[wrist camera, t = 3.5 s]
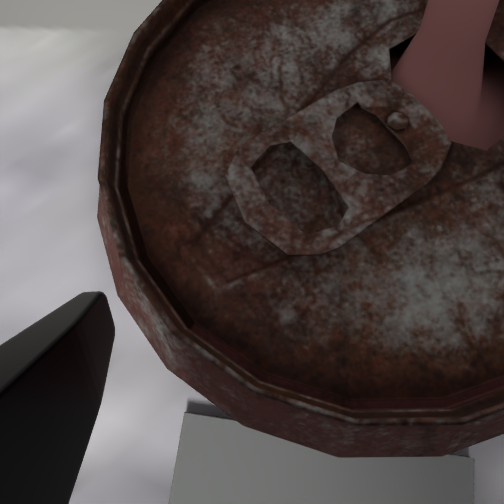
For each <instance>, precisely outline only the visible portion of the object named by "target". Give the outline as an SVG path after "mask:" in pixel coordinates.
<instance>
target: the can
mask: <svg viewBox="0 0 504 504" xmlns="http://www.w3.org/2000/svg"><path fill="white" fill-rule="evenodd" d="M98 181H99V184H100V189H99V202H98V214H97V218H98V222H99V226H100V230H101V233H102V237H103V241H104V245H105V249H106V252H107V256H108V260H109V264H110V268H111V271H112V275H113V279H114V283H115V287H116V290H117V294H118V297H119V298H120V300H121V301H122V303H123V304H124V305H125V307H126V308H127V310H128V311H129V313H130V314H131V316H132V317H133V319H134V320H135V322H136V323H137V325H138V326H139V328H140V329H141V331H142V332H143V334H144V335H145V337H146V338H147V340H148V341H149V343H150V344H151V345H152V347H153V348H154V350H155V351H156V353H157V354H158V356H159V357H160V359H161V360H162V362H163V363H164V365H165V366H166V368H167V369H168V370H170V371H171V372H172V373H174V374H175V375H176V376H178V377H179V378H180V379H182V380H183V381H184V382H186V383H187V384H188V385H190V386H191V387H192V388H194V389H195V390H196V391H197V392H199V393H200V394H201V395H203V396H204V397H205V398H207V399H208V400H209V401H211V402H212V403H213V404H215V405H216V406H217V407H219V408H220V409H221V410H223V411H224V412H225V413H227V414H228V415H229V416H231V417H232V418H233V419H235V420H236V421H237V422H239V423H240V424H241V425H243V426H245V427H248V428H251V429H254V430H257V431H260V432H263V433H266V434H269V435H272V436H275V437H278V438H281V439H284V440H287V441H290V442H293V443H296V444H299V445H302V446H305V447H308V448H311V449H314V450H317V451H320V452H323V453H326V454H329V455H332V456H335V457H338V458H358V457H442V456H445V455H447V454H450V453H453V452H456V451H458V450H461V449H464V448H466V447H469V446H472V445H474V444H477V443H480V442H483V441H485V440H488V439H491V438H493V437H496V436H499V435H501V434H504V0H162V1H161V2H160V4H159V5H158V6H157V7H156V8H155V9H154V10H153V12H152V13H151V14H150V15H149V16H148V17H147V18H146V20H145V21H144V22H143V23H142V24H141V25H140V26H139V27H138V29H137V30H136V31H135V32H134V34H133V36H132V38H131V41H130V43H129V45H128V47H127V50H126V52H125V54H124V57H123V59H122V61H121V63H120V66H119V68H118V70H117V72H116V75H115V77H114V79H113V82H112V84H111V86H110V88H109V91H108V93H107V95H106V98H105V100H104V108H103V120H102V133H101V145H100V157H99V170H98Z"/></svg>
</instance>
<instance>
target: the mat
mask: <svg viewBox="0 0 504 504" xmlns="http://www.w3.org/2000/svg"><path fill="white" fill-rule="evenodd" d="M169 504H474V458H471V457H466V456H459V455H453V454H447V455H445V456H442V457H358V458H338V457H335V456H332V455H329V454H326V453H323V452H320V451H317V450H314V449H311V448H308V447H305V446H302V445H299V444H296V443H293V442H290V441H287V440H284V439H281V438H278V437H275V436H272V435H269V434H266V433H263V432H260V431H257V430H254V429H251V428H248V427H245V426H243V425H241V424H240V423H239V422H237V421H236V420H232V419H226V418H220V417H214V416H207V415H201V414H195V413H188V412H185V413H184V418H183V423H182V429H181V435H180V441H179V446H178V452H177V458H176V464H175V469H174V475H173V481H172V487H171V493H170V498H169Z"/></svg>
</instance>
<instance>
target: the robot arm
mask: <svg viewBox="0 0 504 504" xmlns="http://www.w3.org/2000/svg"><path fill="white" fill-rule="evenodd" d="M114 337H115V326H114V322H113V318H112V315H111V311H110V307H109V304H108V300H107V297H106V295H105V294H104V293H103V292H101V291H97V292H84V293H81V294H79V295H78V296H76V297H75V298H73V299H71V300H70V301H68V302H67V303H65V304H64V305H62V306H61V307H59V308H57V309H56V310H54V311H53V312H51V313H50V314H48V315H47V316H45V317H44V318H42V319H40V320H39V321H37V322H36V323H34V324H33V325H31V326H30V327H28V328H26V329H25V330H23V331H22V332H20V333H19V334H17V335H16V336H14V337H12V338H11V339H9V340H8V341H6V342H5V343H3V344H2V345H0V504H69V501H70V498H71V494H72V491H73V488H74V485H75V482H76V479H77V476H78V473H79V470H80V467H81V464H82V461H83V458H84V455H85V452H86V449H87V446H88V443H89V440H90V436H91V433H92V430H93V427H94V424H95V421H96V418H97V415H98V412H99V408H100V405H101V401H102V397H103V392H104V387H105V382H106V377H107V372H108V367H109V362H110V357H111V352H112V347H113V342H114Z"/></svg>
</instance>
